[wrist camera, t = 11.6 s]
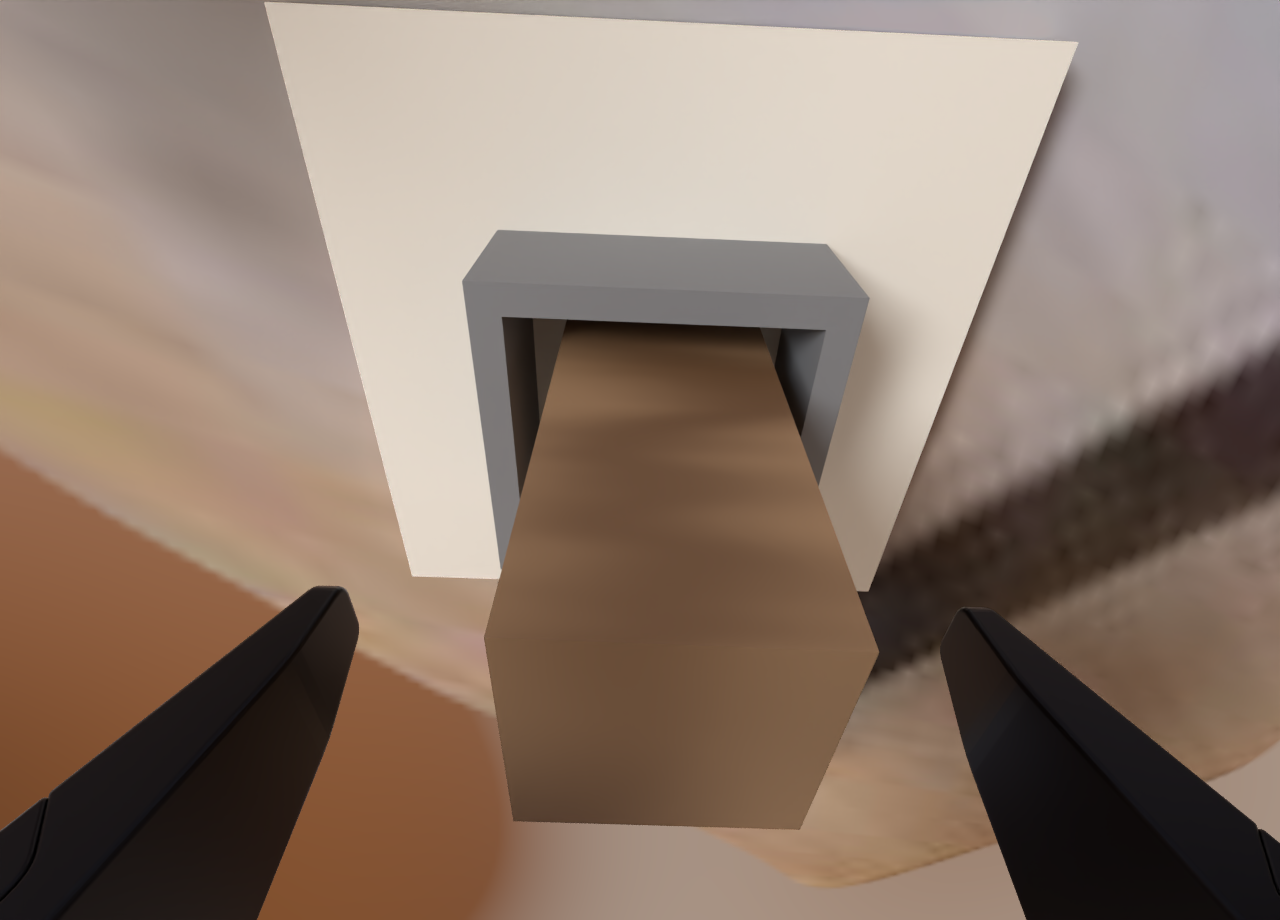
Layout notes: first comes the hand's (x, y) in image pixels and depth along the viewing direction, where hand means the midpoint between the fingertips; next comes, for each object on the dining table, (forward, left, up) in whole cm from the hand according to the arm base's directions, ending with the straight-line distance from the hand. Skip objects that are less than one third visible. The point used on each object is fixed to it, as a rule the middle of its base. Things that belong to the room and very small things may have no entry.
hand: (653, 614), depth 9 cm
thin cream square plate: (0, 0, -8) cm, 8 cm away
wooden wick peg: (0, 0, -7) cm, 7 cm away
